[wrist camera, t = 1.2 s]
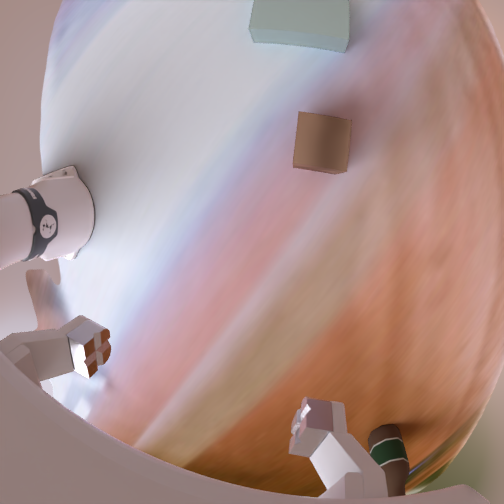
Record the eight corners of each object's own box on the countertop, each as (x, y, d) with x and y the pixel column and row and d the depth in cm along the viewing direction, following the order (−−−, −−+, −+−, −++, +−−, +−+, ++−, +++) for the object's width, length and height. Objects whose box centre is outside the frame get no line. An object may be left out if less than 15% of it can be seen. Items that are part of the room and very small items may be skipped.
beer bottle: (365, 430, 47) (378, 518, 24) (398, 418, 45) (420, 504, 22) (369, 445, 48) (379, 526, 25) (399, 435, 46) (417, 513, 23)
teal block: (254, 43, 33) (248, 28, 28) (263, -13, 29) (260, -29, 25) (344, 54, 32) (349, 39, 27) (344, -4, 28) (348, -20, 23)
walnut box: (293, 167, 37) (292, 162, 28) (298, 127, 36) (298, 111, 27) (335, 174, 36) (346, 171, 28) (339, 134, 35) (351, 120, 26)
